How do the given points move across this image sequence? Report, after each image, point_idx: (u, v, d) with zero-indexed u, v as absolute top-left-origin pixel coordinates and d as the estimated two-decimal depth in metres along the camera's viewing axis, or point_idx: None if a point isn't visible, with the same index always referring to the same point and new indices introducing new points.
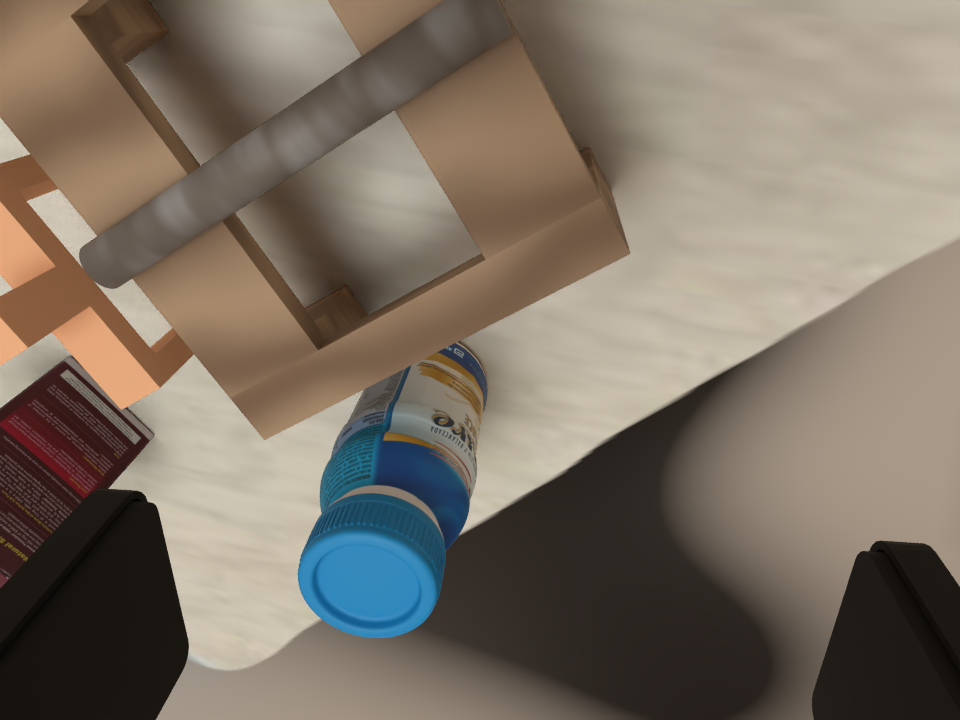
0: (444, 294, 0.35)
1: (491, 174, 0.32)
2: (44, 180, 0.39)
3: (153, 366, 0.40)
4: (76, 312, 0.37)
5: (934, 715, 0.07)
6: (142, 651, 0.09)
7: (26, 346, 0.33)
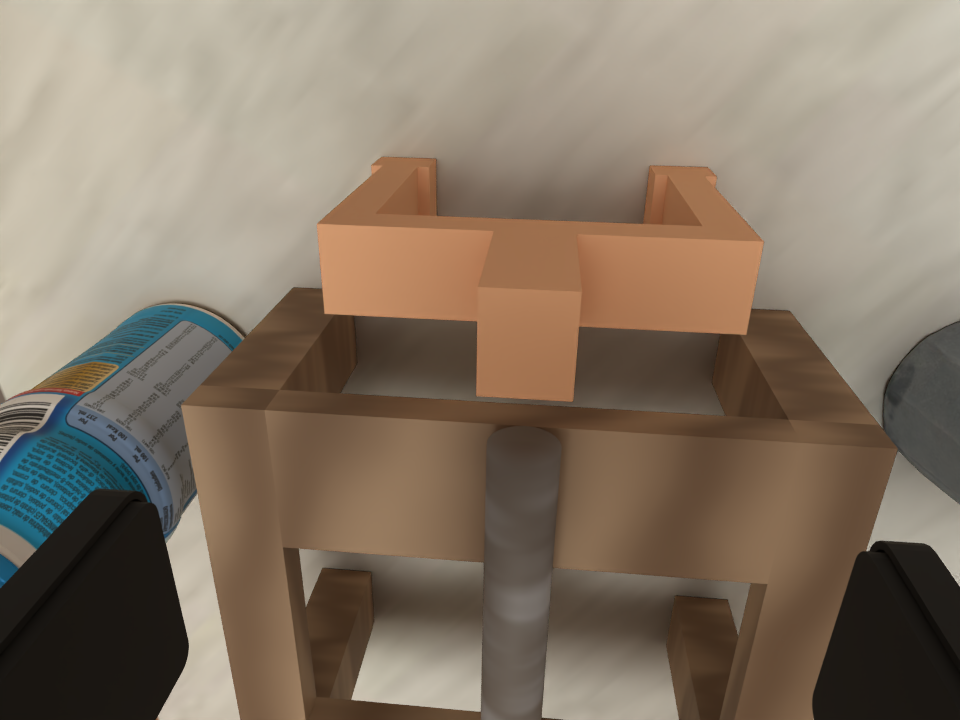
0: (288, 682, 0.31)
1: None
2: None
3: None
4: None
5: (934, 715, 0.07)
6: (142, 651, 0.09)
7: (479, 394, 0.19)
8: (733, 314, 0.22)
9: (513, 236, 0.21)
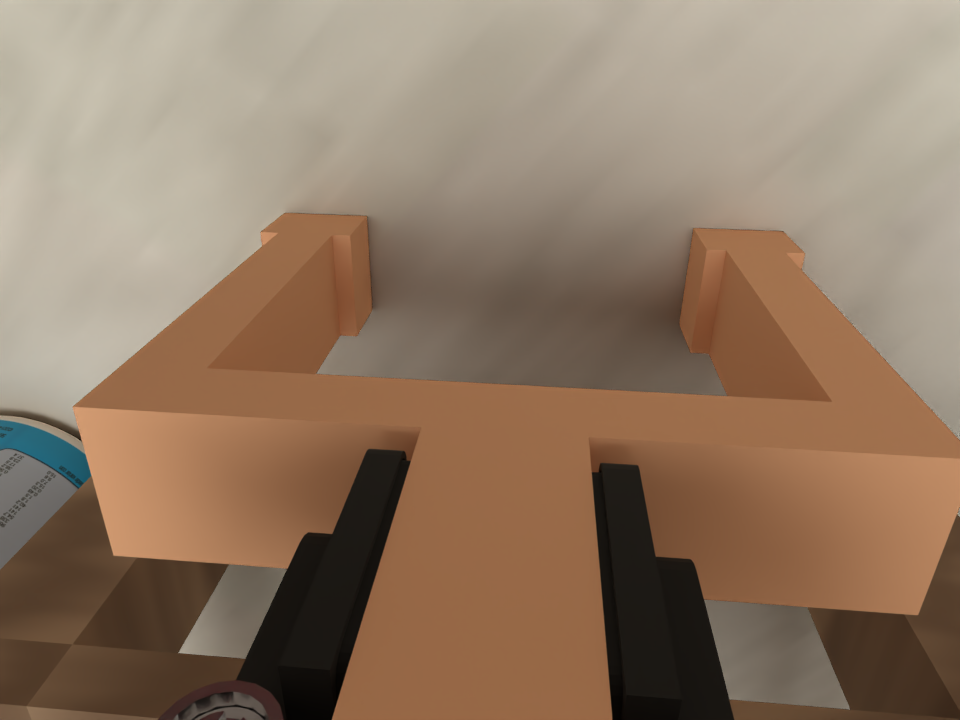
0: None
1: None
2: None
3: None
4: None
5: None
6: None
7: None
8: (897, 582, 0.11)
9: (459, 448, 0.10)
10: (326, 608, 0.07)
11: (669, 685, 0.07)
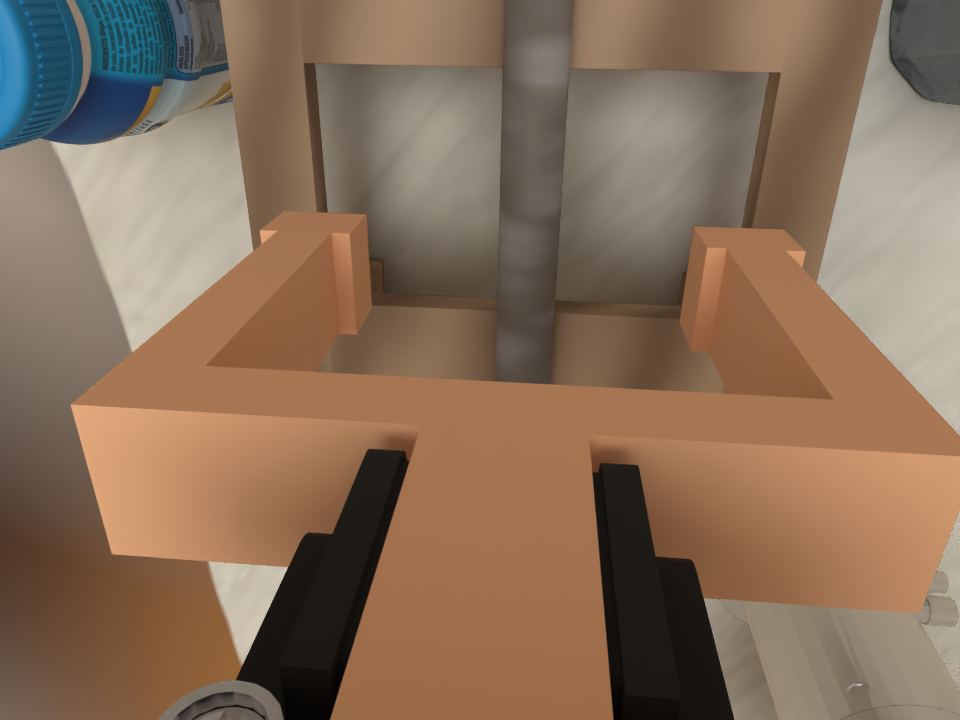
0: None
1: (399, 351, 0.33)
2: None
3: None
4: None
5: None
6: None
7: None
8: (898, 580, 0.11)
9: (458, 446, 0.10)
10: (326, 608, 0.07)
11: (668, 685, 0.07)
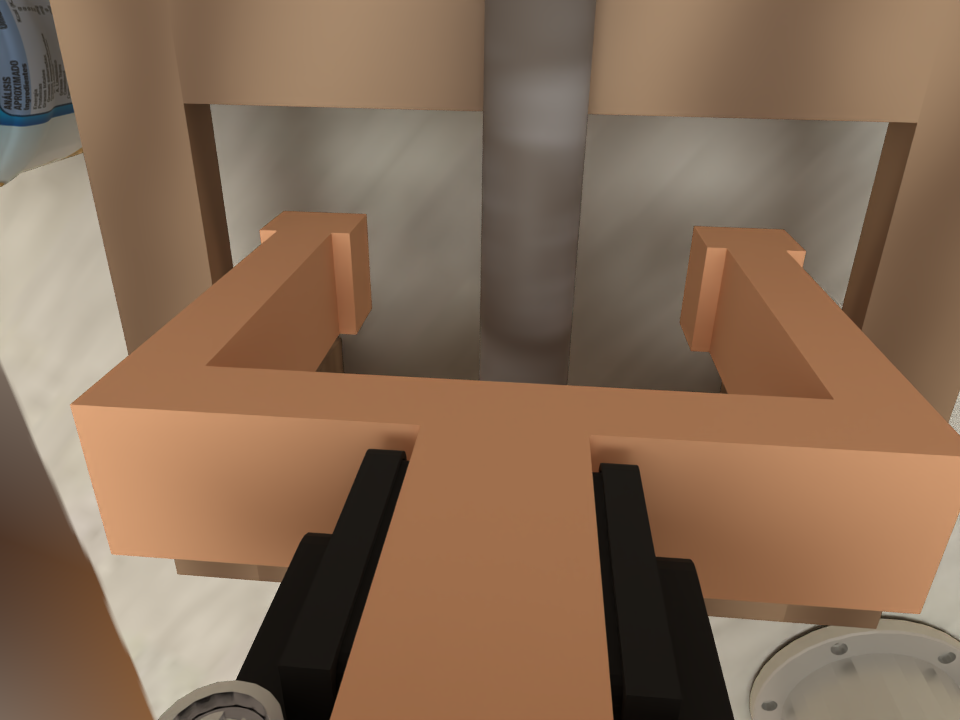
0: None
1: None
2: None
3: None
4: None
5: None
6: None
7: None
8: (899, 580, 0.11)
9: (458, 446, 0.10)
10: (326, 608, 0.07)
11: (669, 685, 0.07)
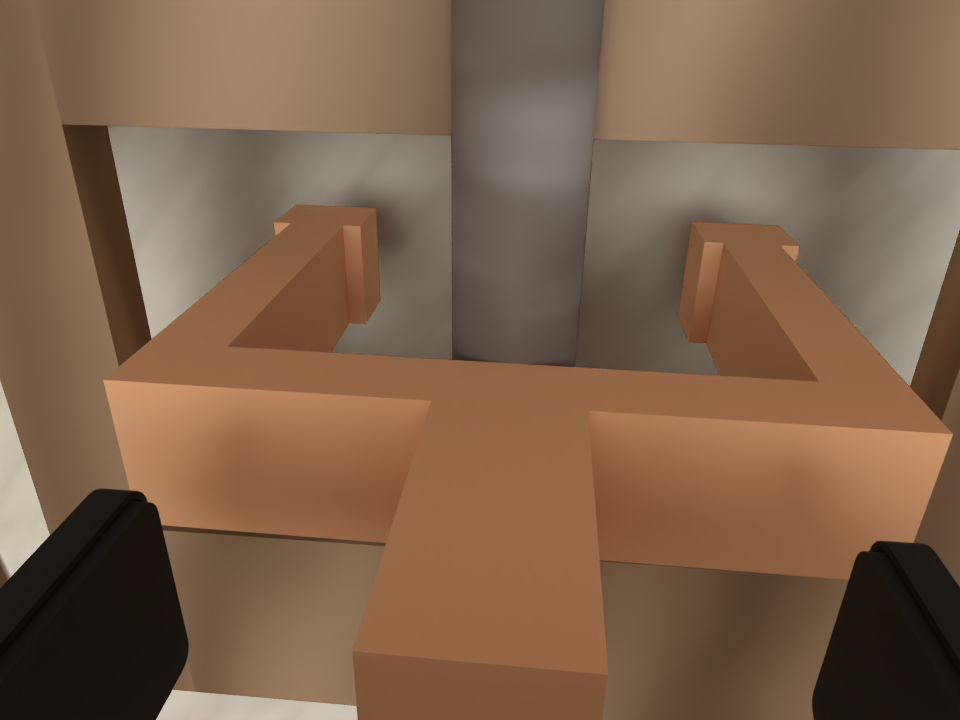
0: (115, 441, 0.17)
1: (292, 605, 0.19)
2: None
3: None
4: None
5: (933, 715, 0.07)
6: (142, 651, 0.09)
7: None
8: None
9: (466, 419, 0.11)
10: None
11: None
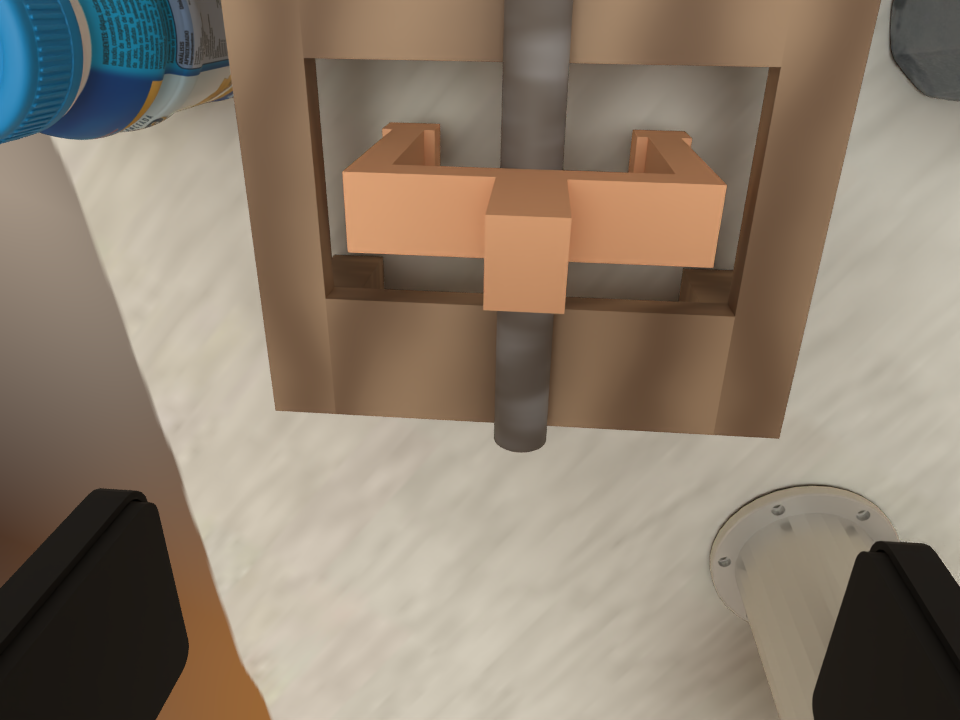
0: (308, 241, 0.31)
1: (399, 347, 0.33)
2: None
3: None
4: None
5: (934, 715, 0.07)
6: (142, 651, 0.09)
7: (485, 308, 0.22)
8: (701, 249, 0.26)
9: (513, 180, 0.25)
10: None
11: None
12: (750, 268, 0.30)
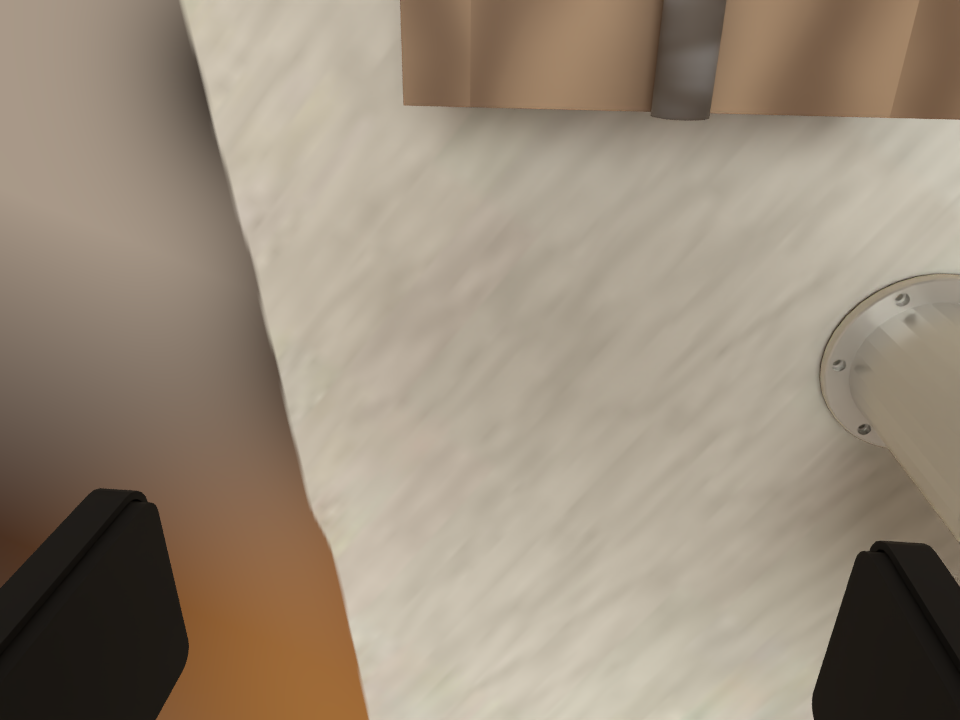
0: None
1: (549, 15, 0.30)
2: None
3: None
4: None
5: (934, 715, 0.07)
6: (142, 651, 0.09)
7: None
8: None
9: None
10: None
11: None
12: None
